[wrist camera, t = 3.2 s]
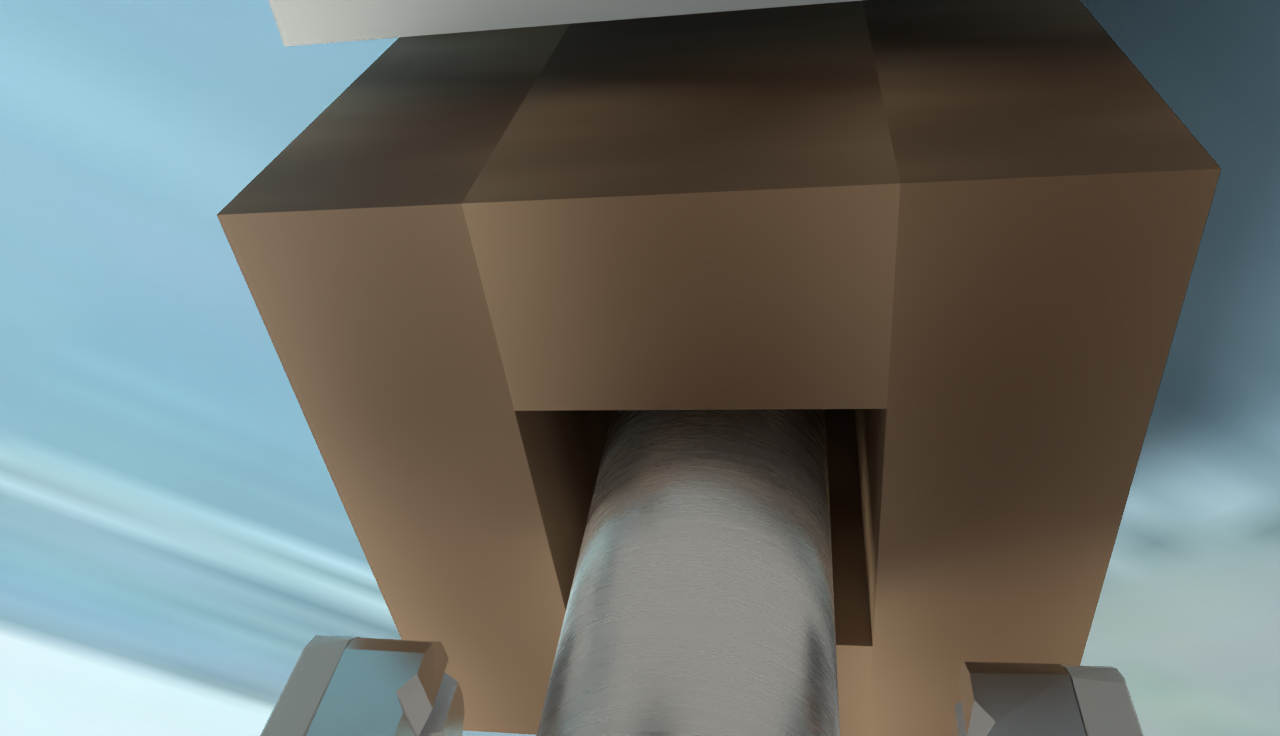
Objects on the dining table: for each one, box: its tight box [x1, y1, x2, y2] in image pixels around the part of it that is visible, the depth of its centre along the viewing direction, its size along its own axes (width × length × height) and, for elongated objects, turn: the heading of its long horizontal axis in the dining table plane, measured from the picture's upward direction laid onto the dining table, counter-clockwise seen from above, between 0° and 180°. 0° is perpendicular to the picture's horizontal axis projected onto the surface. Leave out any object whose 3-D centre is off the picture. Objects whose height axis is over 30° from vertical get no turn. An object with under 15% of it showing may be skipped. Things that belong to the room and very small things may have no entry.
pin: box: [536, 409, 840, 736], centre depth 12 cm, size 3×3×11 cm
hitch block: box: [217, 0, 1221, 736], centre depth 14 cm, size 10×10×6 cm
